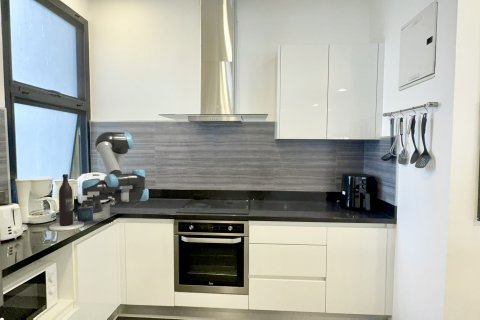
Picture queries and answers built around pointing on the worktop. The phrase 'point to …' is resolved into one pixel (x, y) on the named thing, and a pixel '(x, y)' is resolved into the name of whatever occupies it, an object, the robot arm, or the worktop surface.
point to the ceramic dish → (65, 228)
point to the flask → (85, 213)
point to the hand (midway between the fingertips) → (84, 196)
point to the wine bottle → (65, 203)
